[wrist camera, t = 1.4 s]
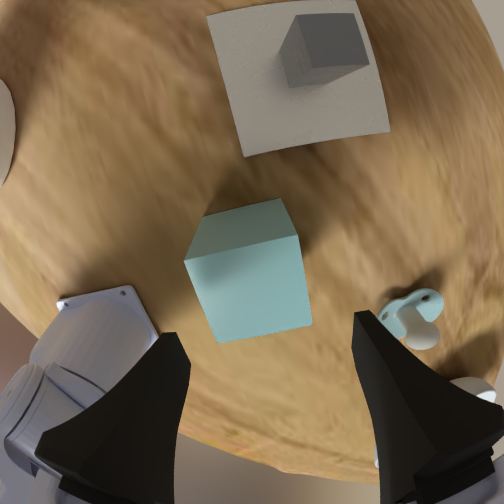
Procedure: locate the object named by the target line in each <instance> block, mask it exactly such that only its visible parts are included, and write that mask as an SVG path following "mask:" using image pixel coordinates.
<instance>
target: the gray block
mask: <svg viewBox="0 0 504 504" xmlns="http://www.w3.org/2000/svg"><path fill="white" fill-rule="evenodd" d="M206 18H207V21H208V25H209V29H210V32H211V36H212V39H213V43H214V47H215V50H216V54H217V58H218V61H219V65H220V69H221V72H222V76H223V80H224V83H225V87H226V91H227V95H228V98H229V102H230V106H231V110H232V114H233V117H234V121H235V125H236V129H237V133H238V137H239V141H240V144H241V148H242V152H243V156H244V157H247V156H252V155H256V154H260V153H265V152H269V151H274V150H279V149H283V148H288V147H293V146H299V145H304V144H309V143H315V142H321V141H327V140H333V139H340V138H347V137H354V136H361V135H369V134H378V133H387V132H391V131H390V125H389V119H388V114H387V108H386V103H385V98H384V94H383V89H382V85H381V80H380V76H379V72H378V68H377V65H376V61H375V57H374V54H373V50H372V47H371V44H370V40H369V37H368V34H367V31H366V28H365V25H364V22H363V19H362V16H361V14H360V11H359V8H358V6H357V3H356V1H355V0H307V1H292V2H281V3H273V4H265V5H258V6H252V7H246V8H241V9H236V10H231V11H226V12H222V13H218V14H214V15H210V16H206Z"/></svg>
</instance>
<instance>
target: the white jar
mask: <svg viewBox="0 0 504 504" xmlns="http://www.w3.org/2000/svg"><path fill="white" fill-rule="evenodd" d="M15 131H16V125H15V108H14V104H13V100H12V97H11V92H10V91H9V89H8V88H7V86H6V85H5V83H4V82H3V81H2V80H1V79H0V188H1V186H2V185H3V183H4V180H5V178H6V176H7V174H8V171H9V168H10V164H11V160H12V155H13V151H14V141H15Z"/></svg>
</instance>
